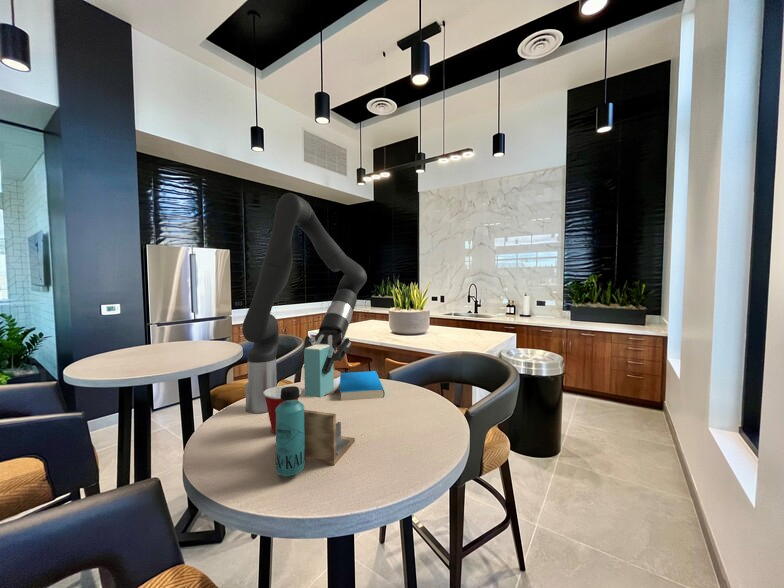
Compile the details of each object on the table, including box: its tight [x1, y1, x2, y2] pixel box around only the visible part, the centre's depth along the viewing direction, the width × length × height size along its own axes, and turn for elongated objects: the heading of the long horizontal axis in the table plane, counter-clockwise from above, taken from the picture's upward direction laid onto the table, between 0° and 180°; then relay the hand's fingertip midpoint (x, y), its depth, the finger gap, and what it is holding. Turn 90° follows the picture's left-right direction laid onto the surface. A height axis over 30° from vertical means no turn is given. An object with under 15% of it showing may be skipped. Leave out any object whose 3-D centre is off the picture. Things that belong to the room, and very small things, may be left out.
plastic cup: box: [263, 385, 302, 435], centre depth 95 cm, size 11×11×12 cm
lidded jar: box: [324, 369, 342, 396], centre depth 128 cm, size 11×11×9 cm
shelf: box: [304, 409, 356, 466], centre depth 84 cm, size 16×12×12 cm
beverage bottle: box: [274, 385, 306, 477], centre depth 72 cm, size 6×7×20 cm
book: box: [339, 370, 385, 401], centre depth 132 cm, size 17×4×25 cm
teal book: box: [303, 344, 334, 398], centre depth 84 cm, size 4×7×12 cm, turn 162°
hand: (315, 371), depth 82 cm, fingers closed on teal book, 4 cm apart
